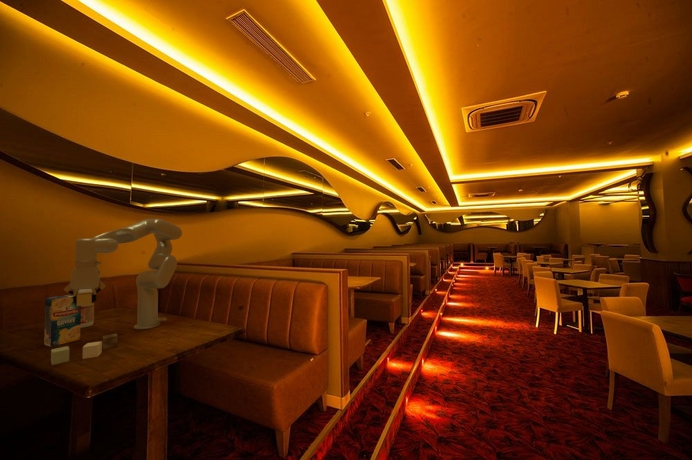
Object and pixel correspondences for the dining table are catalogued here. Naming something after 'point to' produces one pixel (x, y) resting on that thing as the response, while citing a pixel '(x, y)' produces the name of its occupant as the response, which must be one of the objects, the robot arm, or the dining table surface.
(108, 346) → the walnut cube
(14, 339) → the dining table surface
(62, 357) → the sage cube
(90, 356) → the cream cube
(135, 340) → the dining table surface
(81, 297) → the ochre cube
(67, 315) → the blue cardboard box
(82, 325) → the fruit juice
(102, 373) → the dining table surface
